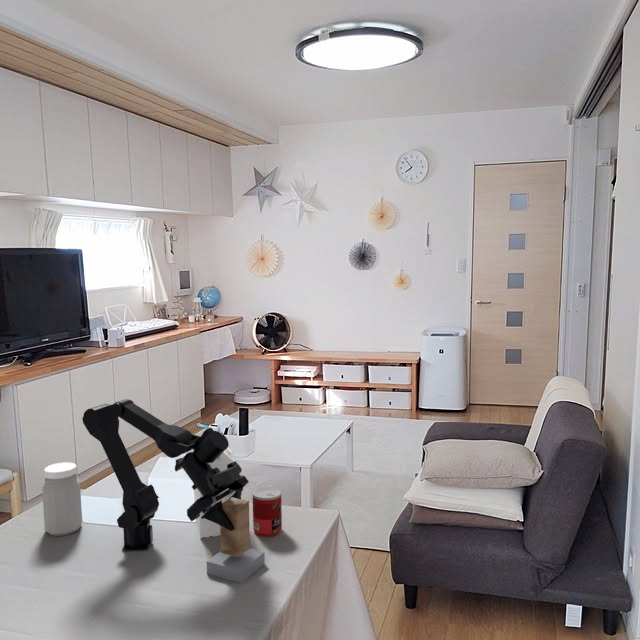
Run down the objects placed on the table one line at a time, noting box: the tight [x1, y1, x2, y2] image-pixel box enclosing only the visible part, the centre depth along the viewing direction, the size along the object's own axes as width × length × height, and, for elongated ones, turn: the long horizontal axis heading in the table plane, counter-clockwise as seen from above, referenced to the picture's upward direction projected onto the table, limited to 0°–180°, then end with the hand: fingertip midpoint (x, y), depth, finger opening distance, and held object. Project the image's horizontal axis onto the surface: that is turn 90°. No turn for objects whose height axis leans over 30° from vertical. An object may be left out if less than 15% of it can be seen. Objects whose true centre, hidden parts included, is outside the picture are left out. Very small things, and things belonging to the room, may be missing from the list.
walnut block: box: [219, 497, 251, 557], centre depth 147 cm, size 5×5×12 cm
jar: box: [41, 461, 83, 537], centre depth 169 cm, size 10×10×18 cm
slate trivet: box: [206, 547, 266, 584], centre depth 148 cm, size 10×10×3 cm
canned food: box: [252, 487, 283, 538], centre depth 168 cm, size 8×8×11 cm
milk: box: [195, 447, 237, 539], centre depth 170 cm, size 12×12×26 cm
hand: (239, 525), depth 146 cm, fingers closed on walnut block, 5 cm apart
